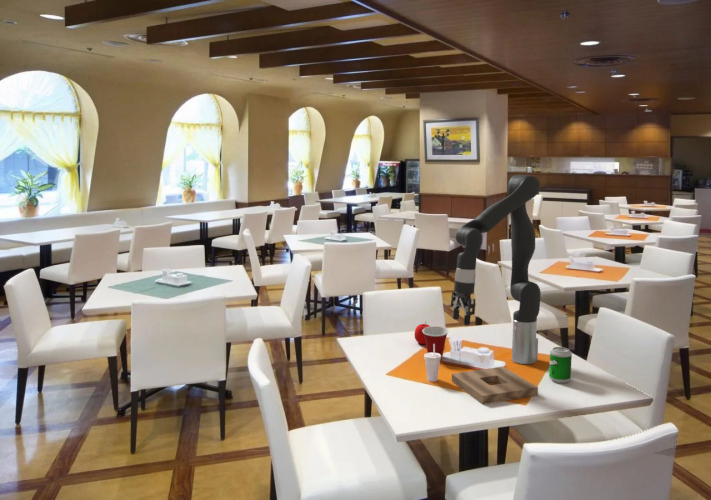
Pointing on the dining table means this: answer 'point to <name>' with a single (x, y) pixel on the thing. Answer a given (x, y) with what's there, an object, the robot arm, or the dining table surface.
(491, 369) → the socket board
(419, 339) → the fruit
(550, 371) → the soda can
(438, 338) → the plastic cup
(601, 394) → the dining table surface
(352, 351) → the dining table surface
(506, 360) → the dining table surface
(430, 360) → the smoothie
